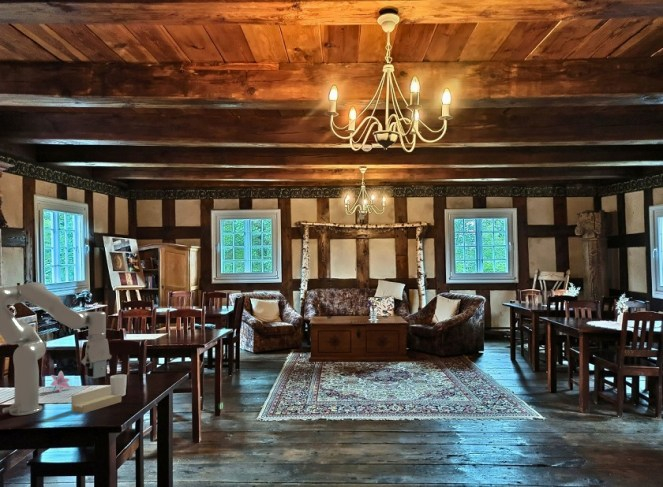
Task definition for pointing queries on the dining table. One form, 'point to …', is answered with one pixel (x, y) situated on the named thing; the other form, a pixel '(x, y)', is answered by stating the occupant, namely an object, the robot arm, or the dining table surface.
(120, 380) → the white cup
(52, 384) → the lily
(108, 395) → the cleat board
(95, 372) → the cabinet
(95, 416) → the dining table surface
